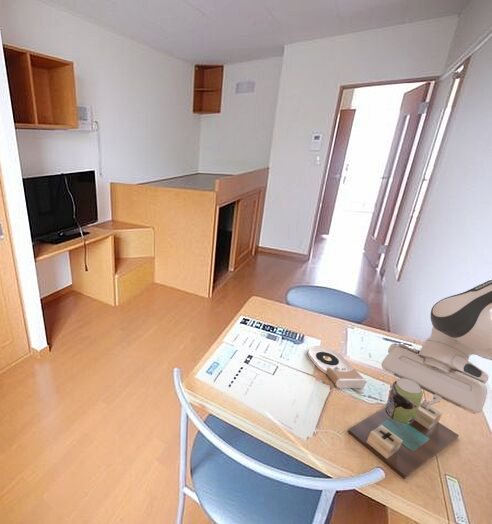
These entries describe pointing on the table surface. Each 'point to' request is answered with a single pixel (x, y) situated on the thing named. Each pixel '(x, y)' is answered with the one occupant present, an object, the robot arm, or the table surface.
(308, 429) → the table surface
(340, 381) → the record player
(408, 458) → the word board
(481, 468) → the table surface
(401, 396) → the beverage can
